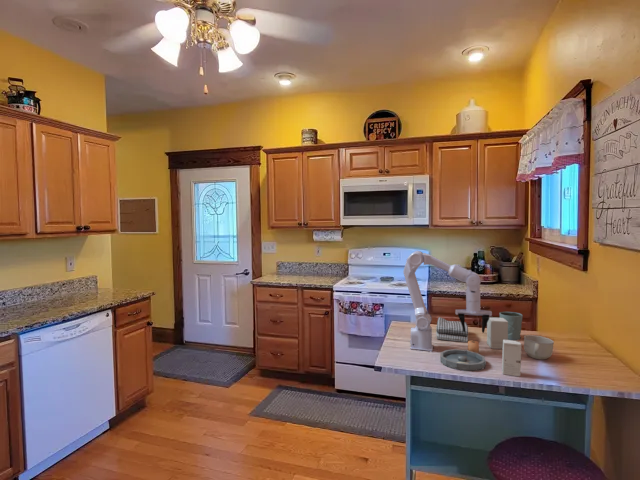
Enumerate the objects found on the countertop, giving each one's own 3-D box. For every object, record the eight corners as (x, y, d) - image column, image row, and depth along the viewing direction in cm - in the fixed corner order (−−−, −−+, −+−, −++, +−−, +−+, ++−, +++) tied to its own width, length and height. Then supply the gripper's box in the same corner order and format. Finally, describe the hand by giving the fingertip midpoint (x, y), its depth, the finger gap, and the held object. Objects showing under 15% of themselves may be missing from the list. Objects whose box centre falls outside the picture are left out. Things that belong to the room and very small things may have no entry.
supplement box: (508, 349, 166) (508, 321, 165) (490, 348, 167) (490, 320, 167) (503, 344, 173) (503, 317, 173) (486, 343, 175) (486, 316, 174)
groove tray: (440, 367, 145) (440, 361, 145) (440, 353, 162) (440, 347, 161) (487, 373, 140) (487, 366, 140) (483, 357, 156) (483, 351, 156)
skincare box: (502, 374, 139) (503, 342, 138) (501, 370, 143) (502, 339, 142) (521, 376, 136) (521, 344, 136) (519, 372, 141) (520, 340, 140)
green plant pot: (497, 338, 182) (497, 314, 181) (500, 333, 190) (501, 310, 189) (520, 342, 176) (521, 317, 175) (523, 336, 184) (523, 312, 184)
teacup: (528, 350, 164) (528, 333, 164) (556, 356, 156) (556, 338, 156) (517, 359, 154) (517, 340, 154) (547, 366, 147) (547, 346, 146)
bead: (468, 354, 160) (468, 342, 160) (467, 351, 164) (467, 339, 164) (479, 355, 159) (479, 343, 159) (478, 352, 163) (478, 340, 163)
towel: (435, 341, 180) (435, 325, 179) (436, 330, 197) (436, 316, 197) (469, 343, 175) (469, 327, 175) (466, 332, 193) (466, 317, 192)
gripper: (455, 301, 159) (456, 333, 160) (492, 303, 155) (493, 335, 155) (455, 298, 166) (455, 328, 166) (490, 299, 161) (490, 330, 162)
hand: (473, 331), depth 161 cm, fingers open, 7 cm apart
